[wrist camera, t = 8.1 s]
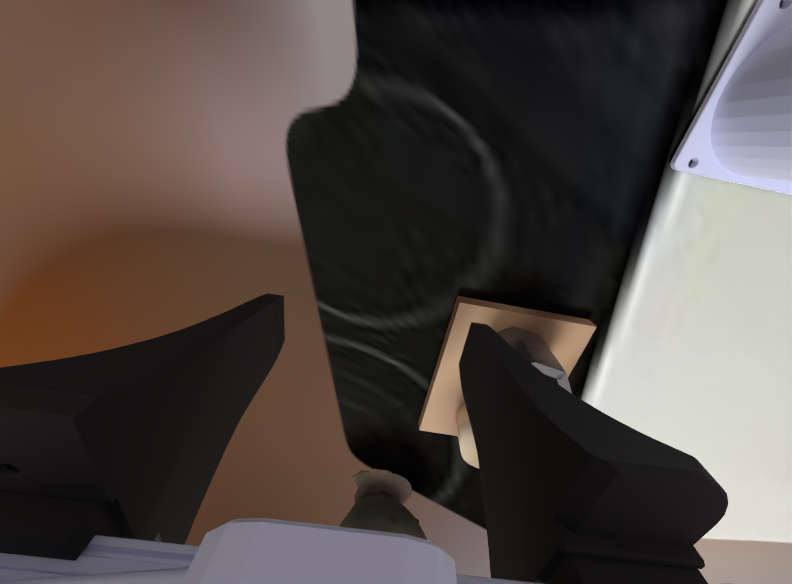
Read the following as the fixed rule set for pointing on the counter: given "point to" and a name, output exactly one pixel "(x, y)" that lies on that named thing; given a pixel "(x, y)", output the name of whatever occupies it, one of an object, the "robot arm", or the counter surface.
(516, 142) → the counter surface
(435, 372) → the board
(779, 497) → the counter surface
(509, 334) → the ring
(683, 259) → the counter surface
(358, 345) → the counter surface
